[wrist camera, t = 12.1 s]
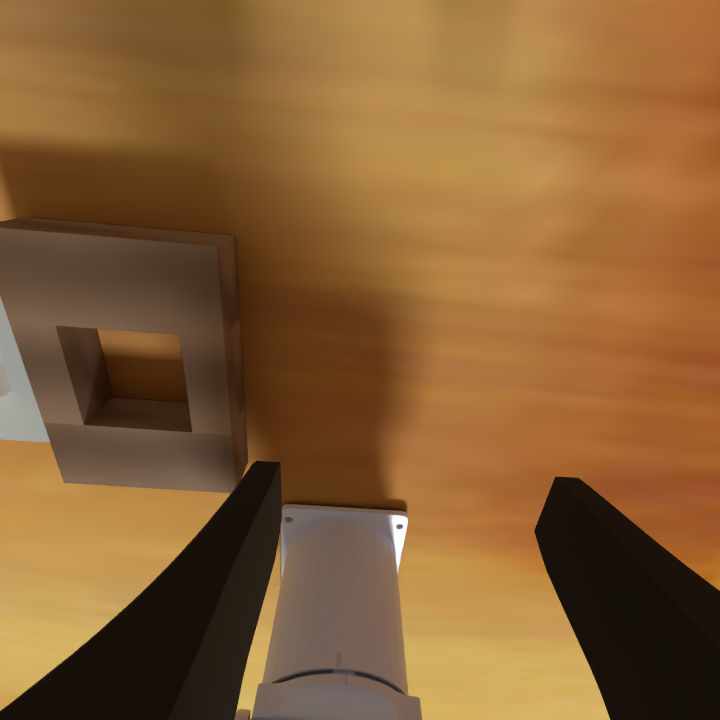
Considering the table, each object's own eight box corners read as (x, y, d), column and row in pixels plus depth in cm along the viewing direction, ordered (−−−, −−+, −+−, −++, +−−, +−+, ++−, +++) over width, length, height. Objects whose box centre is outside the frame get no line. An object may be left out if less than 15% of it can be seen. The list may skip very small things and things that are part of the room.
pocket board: (248, 461, 23) (236, 493, 21) (92, 451, 23) (64, 482, 21) (235, 235, 17) (216, 246, 15) (26, 217, 17) (-24, 225, 15)
